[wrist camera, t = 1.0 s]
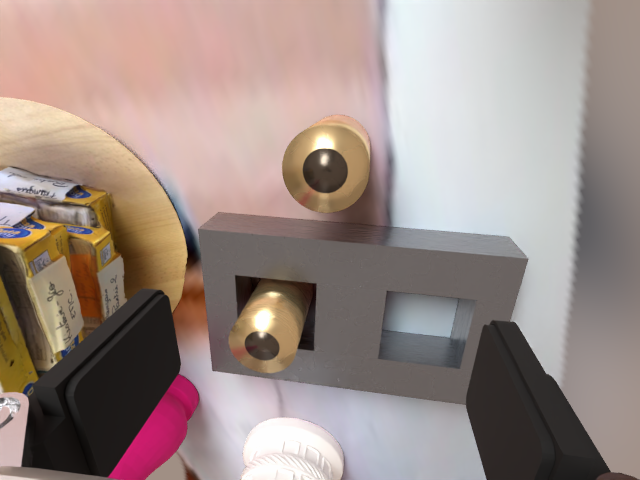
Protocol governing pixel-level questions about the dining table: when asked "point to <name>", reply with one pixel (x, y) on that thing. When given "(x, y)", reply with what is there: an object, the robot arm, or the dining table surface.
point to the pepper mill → (159, 433)
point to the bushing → (328, 164)
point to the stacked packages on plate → (73, 236)
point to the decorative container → (291, 452)
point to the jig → (350, 301)
